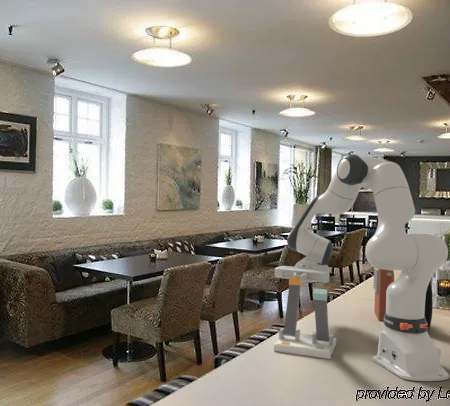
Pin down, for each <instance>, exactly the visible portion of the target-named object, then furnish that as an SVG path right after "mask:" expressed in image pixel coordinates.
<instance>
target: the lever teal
mask: <svg viewBox="0 0 450 406" xmlns="http://www.w3.org/2000/svg"><path fill="white" fill-rule="evenodd" d="M312 297H313V298H312V299H313V302H314V303H313V304H314V319H315V330H316V331H315V332H316V335H317V338H316V339H317V340H318V341H326V342H328V341H329V336H330V334H329V333H330V332H329V317H328V312H329V311H328V289H321V288H314V289H313V291H312Z"/></svg>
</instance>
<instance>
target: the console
mask: <svg viewBox="0 0 450 406" xmlns="http://www.w3.org/2000/svg"><path fill="white" fill-rule="evenodd" d="M278 332H279V333H278V334H279V335H278V337H279V338H278V339H277V341H275V343H273V351H274V352H280V353H286V354H294V355H299V356H300V355H301V356H308V357H315V358H321V359H328V360H331V357H332V355H333V353H334V350H335V347H336V345H337V337H334V333H331V334H329V341H328V342H326V341H318V340H317V339H316V338H317V335H316V331H313V333H312V334H309V333H301V330H300V329H296V332H295V337H292V336H285V335H283V333H284V327H281V328H280V329H279V331H278Z"/></svg>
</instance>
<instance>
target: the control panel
mask: <svg viewBox="0 0 450 406" xmlns="http://www.w3.org/2000/svg"><path fill="white" fill-rule="evenodd" d="M394 281H395V270H383V269H378V268H374V267H373V288H372V289H373V290H374V314H375V316H376V319H377V320H378V321H382V322H384V313H385V312H386V291H387V288H388V286H389V285H390V284H391V283H393V282H394Z"/></svg>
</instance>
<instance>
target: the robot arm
mask: <svg viewBox="0 0 450 406" xmlns="http://www.w3.org/2000/svg"><path fill="white" fill-rule="evenodd" d="M362 188H364V189H371V190H372V193H373V194H372V195H373V199H374V202H375V203H374V204H375V209H376V212H377V213H376V214H377V218H378V219H377V220H378V221H377V227H376V230H375V232H374V234H373V235H372V236H371V238H369V240H368V241H367V243H366V245H365V252H364V254H365V258H366V260H367V262H368V263H369V265H370V266H371V267H373V269H374V268H378V269H383V270H393V271H401V272H400V274H399V276H398V277H397V278H396V279H394V282H393V283H391V284H390V285H389V286H388V288H387V291H386V312H385V313H384V321H383V324H384V327H383V329H382V330H381V331H380V332H379V335H378V337H379V338H378V344H377V345H378V346H377V353H376V354H375V355H374V356H373V357H372V358H373V359H372V360H373V361H374V362H376V363H377V364H378V365H380V366H382V367H383V368H385V369H386V370H388V371H390V372H391V373H393V374H394V375H396V376H397V377H399V378H401V379H403V380H407V381H414V382H415V381H416V382H436V381H437V382H440V381H445V380H448V379H450V374H449V373H448V371H446V369H445V368H444V366H442V365H441V359H440V357H441V353H442V352H441V351H442V350H441V348H440V347H436V346H435V344H434V340H433V339H432V337H430V335H429V333H428V331H429V330H428V327H427V325H428V324H427V321H426V317H425V316H424V313H425V298H426V291H427V287H428V284H429V282H430V280H431V281H432V278H433V276H434V275H435V273H436V272H437V271H438V269H440V268H441V267H442V266H443V265H444V264H445V263H446V262H447V259H448V257H449V250H448V249H449V248H448V245H447V243H446V242H445V240H444V239H443V238H442V237H440V236H436V235H433V234H428V233H407V232H406V224H407V223H409V222H410V221H411V220H412V219H413V218H414V216H415V214H416V208H415V205H414V200H413V197H412V194H411V190H410V186H409V183H408V180H407V178H406V176H405V174H404V171H403V170H402V168H401V166H400V165H399V164H398V163H396V162H393V161H391V160H388V159H386V158H385V159H382V158H378V157H374V156H370V155H358V154H346V155H343V157H341V159H340V160H339V161H338V164H337V166H336V171H335V173H334V175H333V176H332V179H331V181H330V183H329V185H328V186H327V189H326V190H325V192H324V193H322V194H318V195H316V196H315V197H314V198H313V199H312V200H311V202H310V203H309V204H308V206H307V208H306V209H305V211H304V212H303V214H302V215H301V217H300V219H299V220H298V221H297V223H296V224H295V226H294V227H293V228H292V230H290V232H289V234H288V236H287V239H286V242H287V246H288V247H289V249H290V250H291V251H295V252H297V253H299V254H302V255H304V256H305V257H303V258H301V259H300V260H299V261H298V262H296V264H295V265H294V266H291V265H289V266H288V265H280V266H276V267H275V268H274V278H277V279H287V280H289V278H298V279H301V280H302V284H309V283H324V284H325V283H329V282H330V269H329V265H328V263H329V262H330V259H331V258H332V256H333V253H334V246H333V242H332V241H331V240H329V239H327V238H325V237H323V236H321V235H318V234H316V233H315V232H312V231H310V230H309V229H308V226H309V224H310V223H311V222H312V219H313V218H314V216H315V215H317V214H330V215H331V214H332V215H339V214H343V213H346V212H349V210H351V208H352V207H353V205H354V204H355V202H356V199H357V198H358V194H359V193H360V190H361V189H362ZM427 330H428V331H427Z"/></svg>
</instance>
